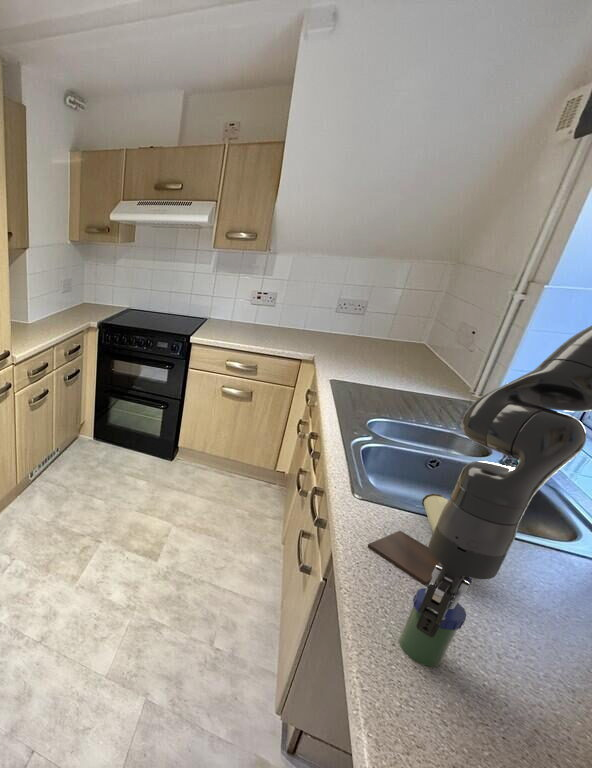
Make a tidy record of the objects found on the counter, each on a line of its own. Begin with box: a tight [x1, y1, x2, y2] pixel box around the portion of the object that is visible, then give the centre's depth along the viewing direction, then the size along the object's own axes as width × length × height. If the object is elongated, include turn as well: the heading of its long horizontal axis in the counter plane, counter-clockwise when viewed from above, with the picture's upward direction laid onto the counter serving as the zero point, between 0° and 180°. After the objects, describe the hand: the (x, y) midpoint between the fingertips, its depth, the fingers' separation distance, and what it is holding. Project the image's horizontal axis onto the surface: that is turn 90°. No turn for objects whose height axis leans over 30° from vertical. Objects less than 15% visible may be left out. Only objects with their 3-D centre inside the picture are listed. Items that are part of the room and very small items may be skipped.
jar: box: [398, 605, 458, 668], centre depth 64 cm, size 5×5×10 cm
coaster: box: [367, 530, 440, 586], centre depth 85 cm, size 11×11×1 cm
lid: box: [412, 587, 467, 631], centre depth 63 cm, size 6×6×2 cm
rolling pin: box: [421, 493, 449, 533], centre depth 88 cm, size 32×6×5 cm, turn 149°
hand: (432, 621), depth 64 cm, fingers closed on lid, 5 cm apart
